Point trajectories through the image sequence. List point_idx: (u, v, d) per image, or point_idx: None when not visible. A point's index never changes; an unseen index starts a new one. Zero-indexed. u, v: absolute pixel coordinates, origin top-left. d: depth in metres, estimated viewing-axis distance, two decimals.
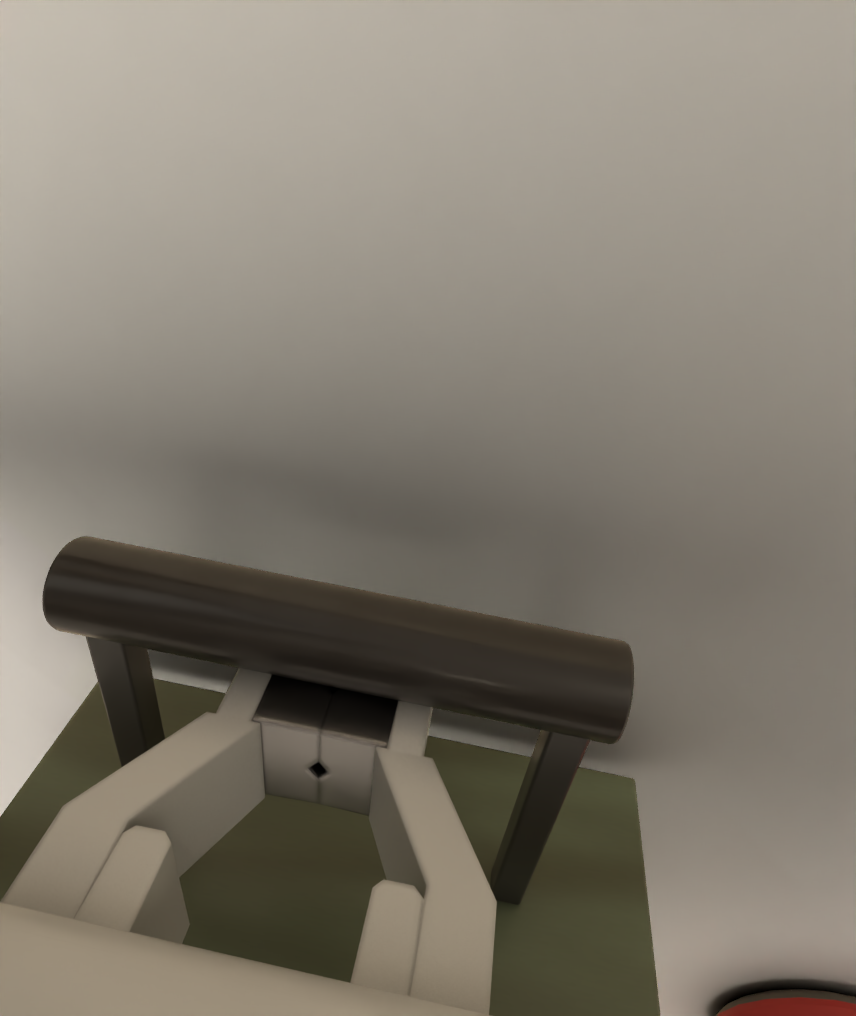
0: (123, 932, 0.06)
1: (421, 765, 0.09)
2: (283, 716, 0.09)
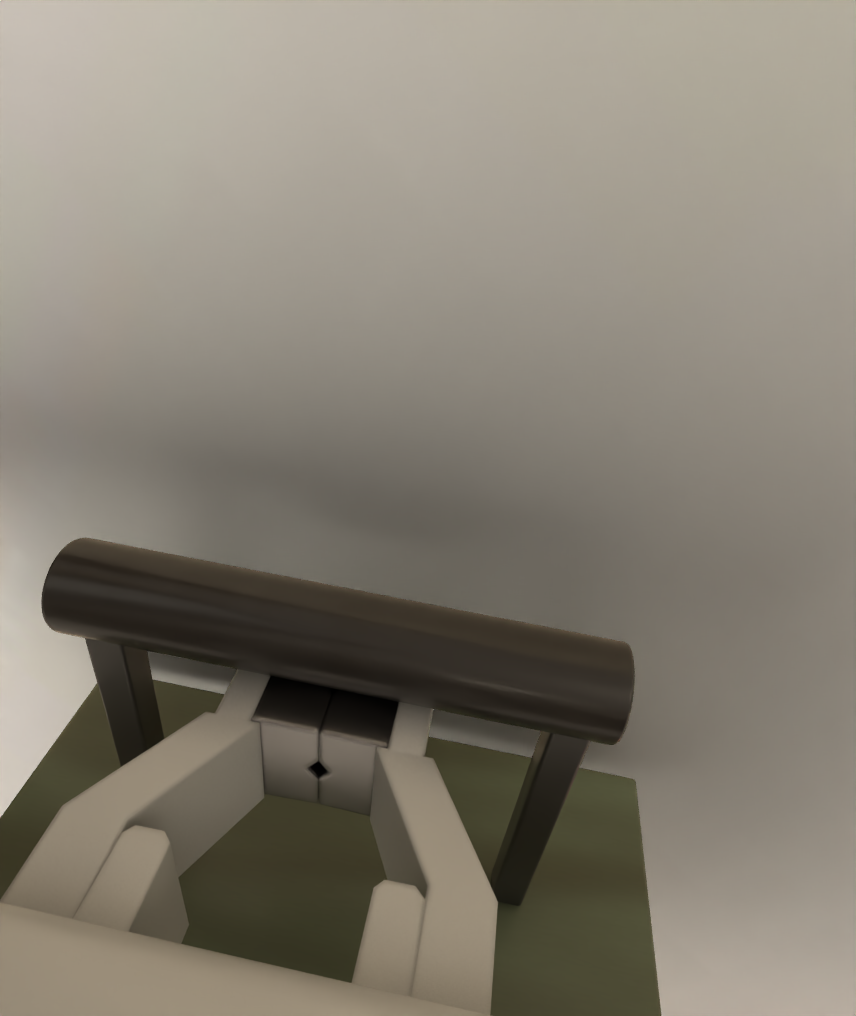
0: (123, 932, 0.06)
1: (422, 765, 0.09)
2: (282, 716, 0.09)
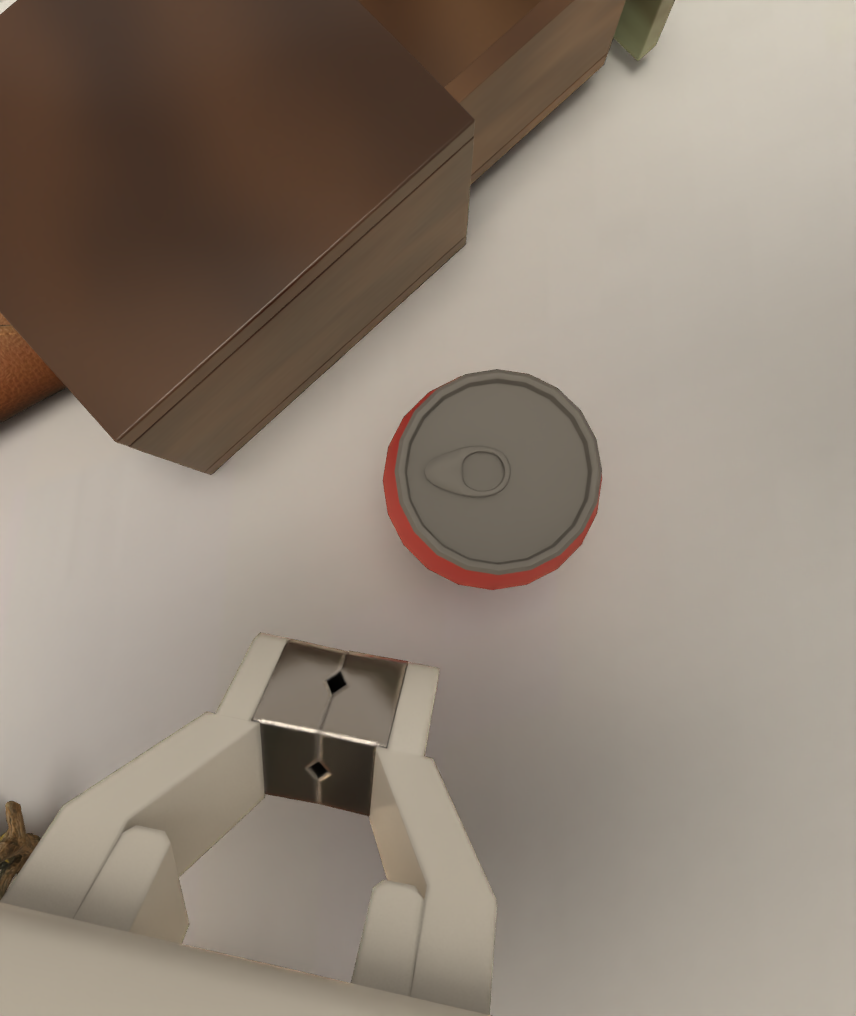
0: (123, 932, 0.06)
1: (422, 765, 0.09)
2: (283, 716, 0.09)
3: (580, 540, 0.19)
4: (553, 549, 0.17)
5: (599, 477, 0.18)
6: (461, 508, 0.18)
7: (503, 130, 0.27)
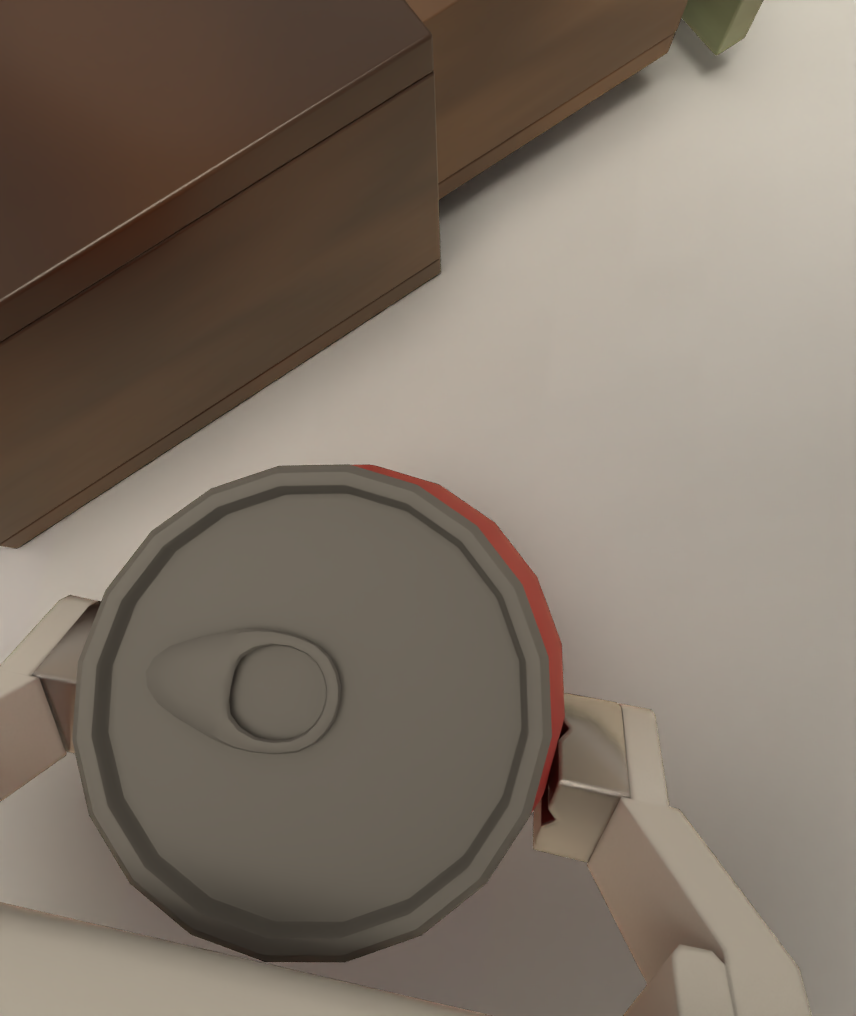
0: (123, 932, 0.06)
1: (673, 817, 0.08)
2: (64, 671, 0.09)
3: None
4: (404, 921, 0.07)
5: (543, 753, 0.07)
6: (216, 769, 0.08)
7: (506, 109, 0.18)
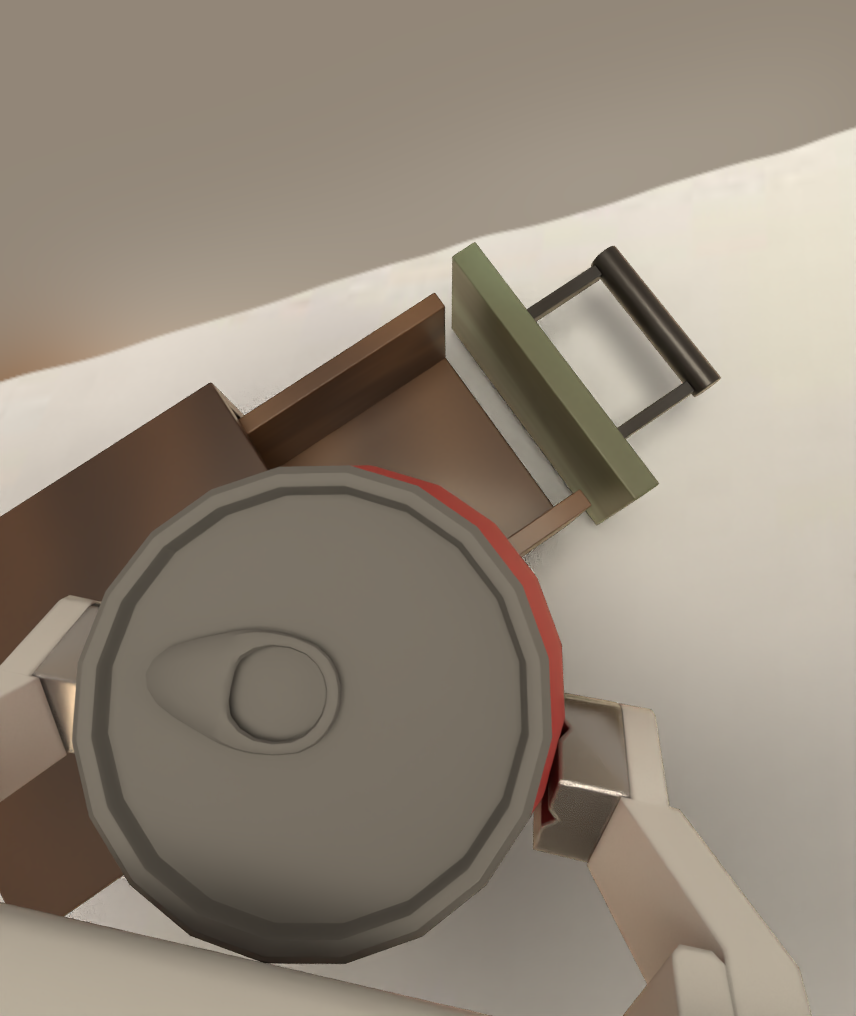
0: (123, 932, 0.06)
1: (673, 817, 0.08)
2: (64, 671, 0.09)
3: None
4: (405, 923, 0.07)
5: (543, 754, 0.07)
6: (215, 771, 0.08)
7: None
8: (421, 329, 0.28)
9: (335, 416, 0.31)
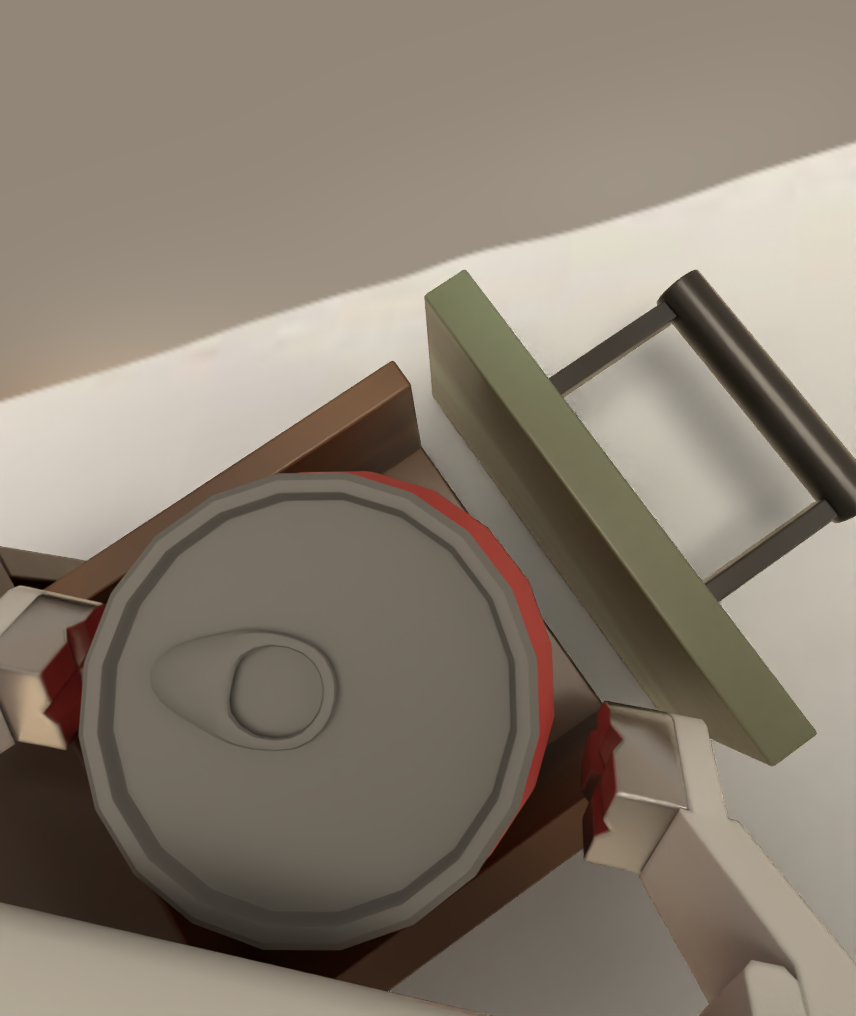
0: (123, 932, 0.06)
1: (733, 830, 0.08)
2: (7, 660, 0.09)
3: None
4: (398, 912, 0.07)
5: (531, 750, 0.08)
6: (217, 766, 0.08)
7: None
8: (370, 423, 0.16)
9: None
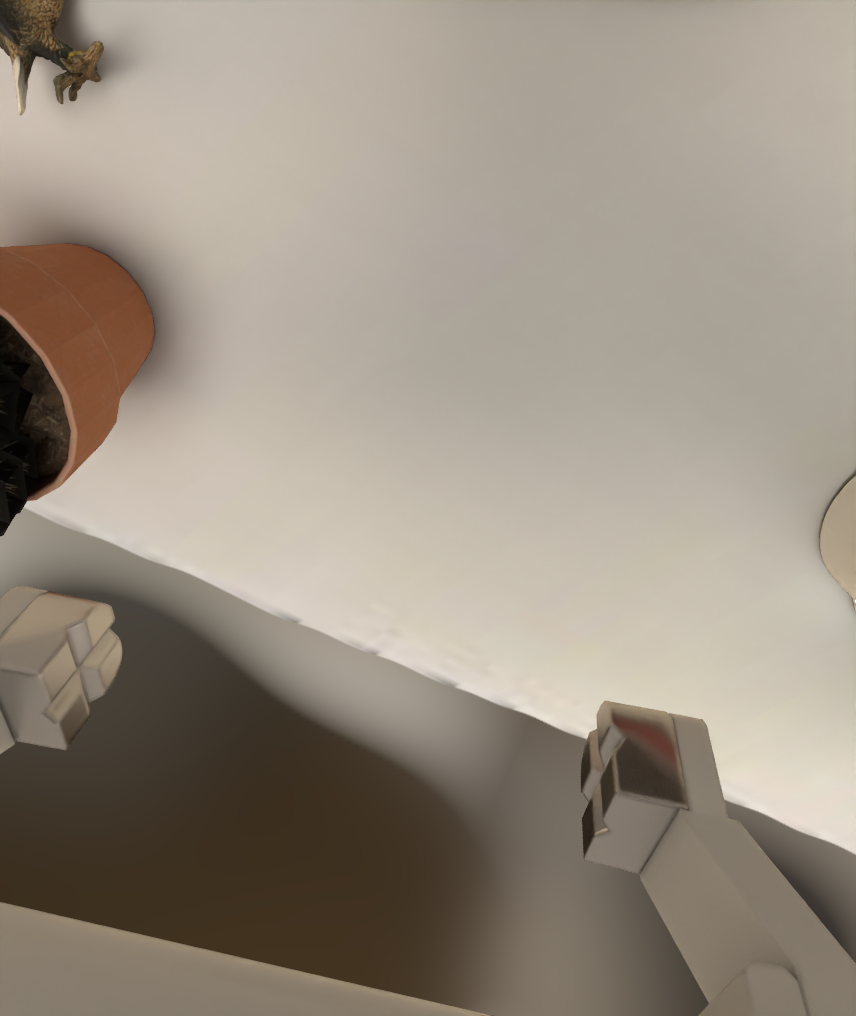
0: (123, 932, 0.06)
1: (733, 830, 0.08)
2: (8, 660, 0.09)
3: None
4: None
5: None
6: None
7: None
8: None
9: None
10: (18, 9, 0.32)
